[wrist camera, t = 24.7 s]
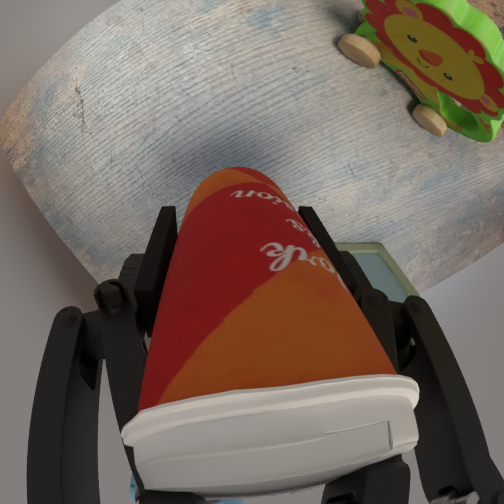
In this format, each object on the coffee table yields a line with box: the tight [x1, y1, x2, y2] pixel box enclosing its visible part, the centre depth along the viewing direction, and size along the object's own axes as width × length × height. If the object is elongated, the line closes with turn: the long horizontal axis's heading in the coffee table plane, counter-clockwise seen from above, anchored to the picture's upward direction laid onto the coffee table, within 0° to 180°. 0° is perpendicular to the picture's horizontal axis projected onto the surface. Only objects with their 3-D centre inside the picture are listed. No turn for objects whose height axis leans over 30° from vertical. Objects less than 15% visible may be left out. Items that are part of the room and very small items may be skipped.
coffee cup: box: [121, 167, 420, 500], centre depth 11 cm, size 8×8×15 cm
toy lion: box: [338, 0, 504, 142], centre depth 13 cm, size 16×6×15 cm, turn 59°
